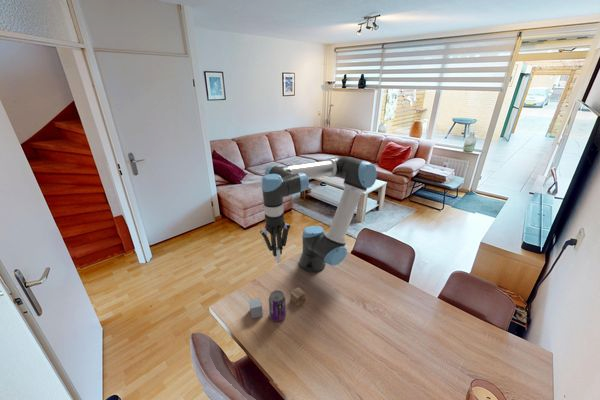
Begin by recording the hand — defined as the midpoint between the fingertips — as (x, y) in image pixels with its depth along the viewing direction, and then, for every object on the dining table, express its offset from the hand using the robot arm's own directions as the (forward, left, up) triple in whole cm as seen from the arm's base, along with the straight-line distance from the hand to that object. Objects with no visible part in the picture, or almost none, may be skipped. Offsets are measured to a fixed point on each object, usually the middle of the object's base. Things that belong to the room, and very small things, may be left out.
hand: (277, 260), depth 111 cm
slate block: (+12, +1, -24) cm, 27 cm away
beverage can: (+4, +7, -24) cm, 26 cm away
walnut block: (-8, +3, -24) cm, 26 cm away
